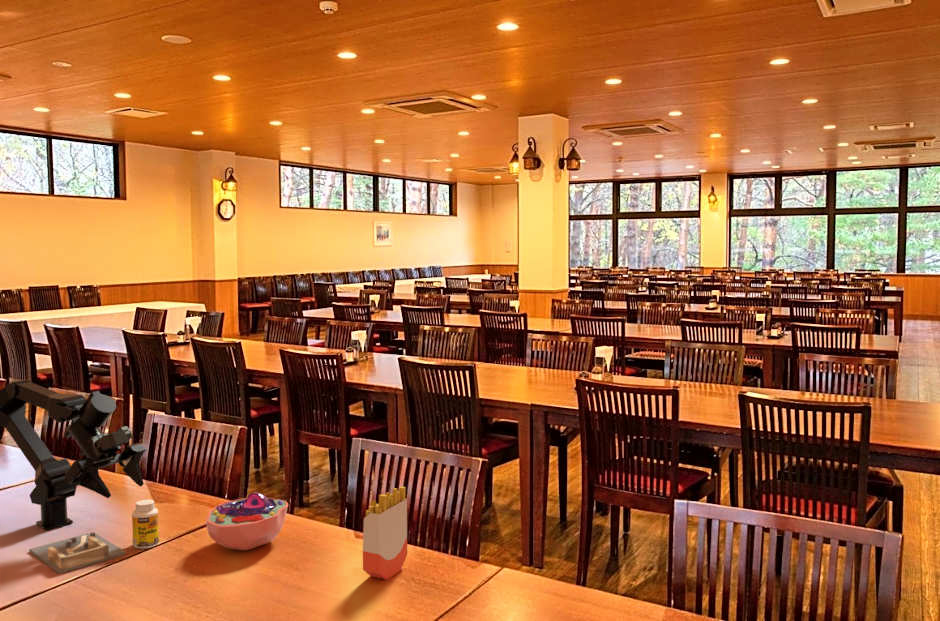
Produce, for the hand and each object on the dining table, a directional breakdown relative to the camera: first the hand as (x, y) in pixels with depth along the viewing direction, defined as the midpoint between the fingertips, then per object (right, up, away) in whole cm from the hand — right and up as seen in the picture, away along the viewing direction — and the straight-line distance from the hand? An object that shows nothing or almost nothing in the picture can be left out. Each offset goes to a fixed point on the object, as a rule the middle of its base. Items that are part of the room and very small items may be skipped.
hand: (126, 490), depth 181 cm
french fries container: (+62, -14, -16) cm, 66 cm away
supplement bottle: (+5, -12, -1) cm, 14 cm away
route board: (-8, -13, -6) cm, 16 cm away
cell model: (+29, -12, -1) cm, 31 cm away
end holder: (-6, -13, -10) cm, 17 cm away
